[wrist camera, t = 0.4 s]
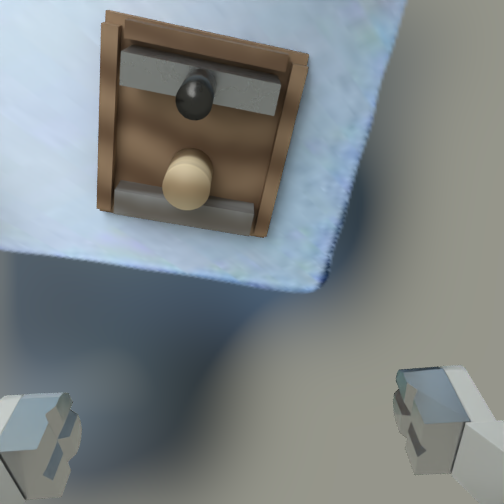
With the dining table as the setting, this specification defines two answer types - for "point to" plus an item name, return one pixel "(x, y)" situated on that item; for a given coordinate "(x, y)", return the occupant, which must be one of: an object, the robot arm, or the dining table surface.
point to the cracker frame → (192, 130)
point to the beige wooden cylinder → (188, 179)
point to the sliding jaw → (198, 82)
